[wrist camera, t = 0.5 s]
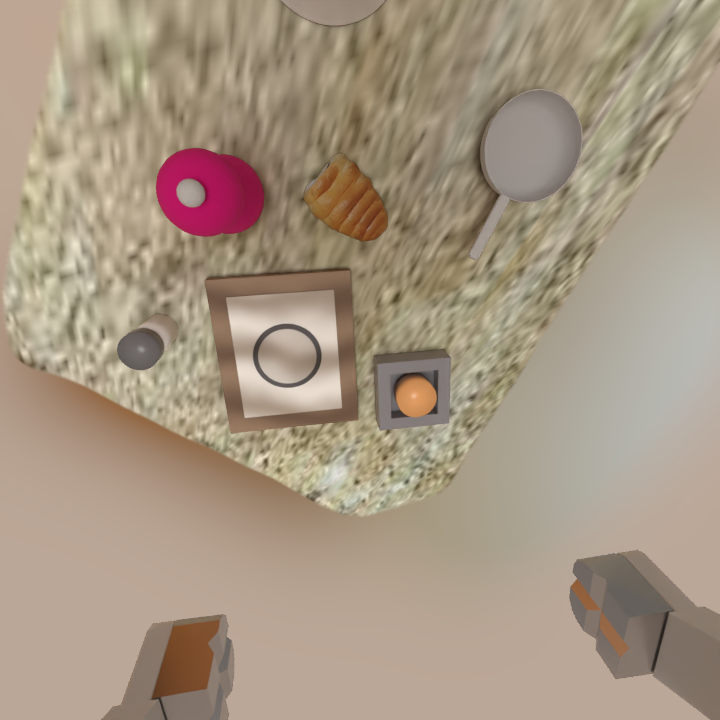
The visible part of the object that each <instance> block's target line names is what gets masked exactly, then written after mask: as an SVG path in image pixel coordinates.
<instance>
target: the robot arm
mask: <svg viewBox="0 0 720 720" xmlns="http://www.w3.org/2000/svg"><path fill="white" fill-rule="evenodd" d="M281 1H282V2H283V3H284V4H285V5H286V6H287V7H289V8H290V9H291V10H292V11H294V12H295V13H297V14H298V15H300V16H302V17H303V18H305V19H308V20H310V21H312V22H315V23H319V24H323V25H330V26H339V25H347V24H351V23H354V22H357V21H360V20H362V19H364V18H366V17H367V16H369V15H370V14H372V13H373V12H374V11H376V10H377V9H378V8H379V7H380V6H381V5H382V4H383V3H384V2H385V1H386V0H281ZM573 573H574V575H575V576H576V577H577V580H576V581H575V582H574V583H573V585H572V586H571V587H570V602H571V607H572V611H573V613H574V615H575V617H576V619H577V621H578V623H579V624H580V626H581V627H582V629H583V630H584V631H585V632H586V633H588V634H589V635H591V636H592V637H594V638H596V650H597V652H598V653H599V655H600V656H601V657H602V659H603V661H604V662H605V663H606V665H607V667H608V668H609V669H610V671H611V673H612V674H613V676H614V677H615V679H619V678H626V677H633V676H639V675H645V674H653V676H654V677H655V678H656V679H658V680H659V681H661V682H662V683H663V684H664V685H666V686H667V687H668V688H670V689H671V690H672V691H673V692H675V693H676V694H677V695H679V696H680V697H681V698H683V699H684V700H685V701H687V702H688V703H689V704H691V705H692V706H693V707H694V708H696V709H697V710H699V711H700V712H701V713H702V714H704V715H705V716H706V717H708V718H709V719H710V720H720V614H718V613H716V612H714V611H712V610H710V609H708V608H706V607H697V606H696V605H695V604H694V603H693V602H692V601H691V600H690V599H689V598H688V597H687V596H686V595H685V594H684V593H683V592H682V591H681V590H680V589H679V588H678V587H677V586H676V585H675V584H674V583H673V582H672V581H671V580H670V579H669V578H668V577H667V576H666V575H665V574H664V573H663V572H662V571H661V570H660V569H659V568H658V567H657V566H656V565H655V564H654V563H653V562H652V561H651V560H650V559H649V558H648V557H647V556H646V555H645V554H644V553H642V552H641V551H638V550H635V551H629V552H622V553H617V554H614V553H613V554H608V555H602V556H596V557H590V558H584V559H578V560H577V561H576V562H575V563H574V567H573ZM227 631H228V623H227V619H226V615H223V614H222V615H214V616H206V617H198V618H190V619H182V620H176V621H169V622H161V623H154V624H152V626H151V627H150V628H149V630H148V631H147V633H146V636H145V639H144V642H143V645H142V647H141V650H140V653H139V656H138V659H137V661H136V664H135V667H134V670H133V673H132V676H131V678H130V681H129V684H128V687H127V690H126V693H125V695H124V698H123V701H122V704H121V705H119V706H114V707H112V708H111V709H110V711H109V712H108V713H107V714H106V715H105V716H104V717H103V718H102V719H101V720H228V716H229V713H228V708H227V704H226V698H227V697H228V695H229V694H230V692H231V691H232V686H233V679H234V651H233V645H232V641H231V640H230V639H229V638H227Z"/></svg>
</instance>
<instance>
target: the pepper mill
mask: <svg viewBox="0 0 720 720" xmlns="http://www.w3.org/2000/svg"><path fill="white" fill-rule="evenodd" d="M156 193H157V198H158V202H159V204H160V206H161V208H162V210H163V212H164V213H165V215H166V217H167V218H168V219H169V220H170V221H171V222H172V223H173V224H174V225H176V226H177V227H178V228H180V229H181V230H183V231H184V232H187V233H189V234H192V235H197V236H205V237H206V236H215V235H219V234H221V233H225V234H233V233H239V232H242V231H244V230H246V229H248V228H250V227H251V226H252V225H253V224H254V223H255V222H256V221H257V219H258V218H259V216H260V214H261V212H262V209H263V205H264V191H263V187H262V184H261V181H260V179H259V177H258V176H257V174H256V173H255V171H254V170H253V169H252V168H251V167H250V166H249V165H248V164H247V163H246V162H244V161H242V160H241V159H239V158H236V157H234V156H230V155H218V154H217V153H214V152H211V151H209V150H206V149H200V148H190V149H185V150H181V151H178V152H176V153H175V154H173V155H171V156H170V157H169V158H168V159H167V160H166V161H165V163H164V164H163V165H162V167H161V169H160V170H159V173H158V176H157V183H156Z"/></svg>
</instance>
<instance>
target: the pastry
mask: <svg viewBox="0 0 720 720" xmlns="http://www.w3.org/2000/svg"><path fill="white" fill-rule="evenodd" d="M304 200H305V202H306V203H307V204H308V206H309V207H310V209H311V212H312V213H313V215H314V216H315V217H316V218H318V219H320V220H322V221H323V222H324V223H325V224H327V225H328V226H329V227H330V228H331V229H334V230H336V231H338V232H340V233H343V234H345V235H347V236H350V237H352V238H355V239H358V240H360V241H370V240H374V239H376V238H377V237H379V236H380V235H381V234H382V233H383V232H384V231H385V230H386V229H387V226H388V214H387V212H386V210H385V208H384V206H383V202H382V200H381V198H380V196H379V195H378V193H377V192H376V190H375V189H374V188H373V185H372V182H371V179H370V178H368V177H366V176H365V175H364V174H363V173H362V172H361V171H360V170H359V168H358V166H357V165H356V164H355V163H353V162H351V161H349V160H348V159H347V158H346V156H345V155H344V154H343V153H338V154H335V155H334V156H333V157H332V158H331V160H330V161H329V163H327V164H326V165H325V167H324V168H323V170H322V171H321V172H320V174H319V176H318V178H316V179H314V180H312V181H311V182H310V183H309V184H308V186H307V187H306V188H305V191H304Z"/></svg>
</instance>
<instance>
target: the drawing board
mask: <svg viewBox="0 0 720 720" xmlns="http://www.w3.org/2000/svg"><path fill="white" fill-rule="evenodd" d="M205 286H206V292H207V297H208V303H209V309H210V315H211V321H212V327H213V332H214V338H215V344H216V350H217V356H218V362H219V367H220V373H221V379H222V385H223V391H224V396H225V402H226V408H227V414H228V420H229V426H230V431H231V433H238V432H248V431H257V430H267V429H277V428H286V427H296V426H305V425H315V424H324V423H334V422H344V421H353V420H358V404H357V385H356V367H355V349H354V330H353V312H352V294H351V276H350V270H349V269H336V270H321V271H306V272H292V273H277V274H262V275H247V276H232V277H218V278H207V279H206V280H205Z"/></svg>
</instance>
